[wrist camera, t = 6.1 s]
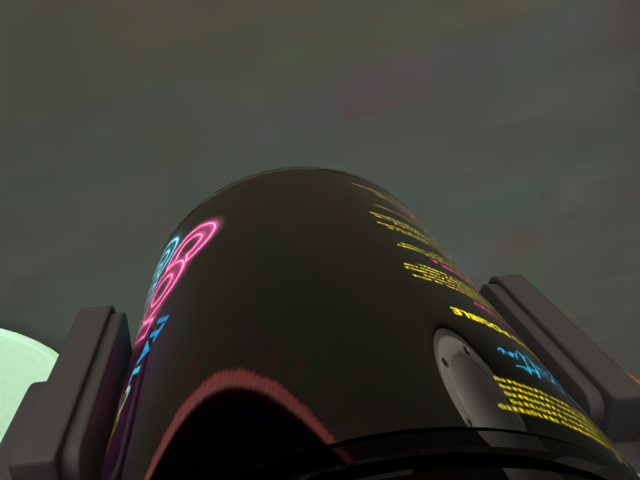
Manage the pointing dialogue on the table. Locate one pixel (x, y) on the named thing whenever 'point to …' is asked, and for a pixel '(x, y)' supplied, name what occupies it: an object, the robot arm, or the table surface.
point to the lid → (20, 371)
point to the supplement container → (334, 353)
